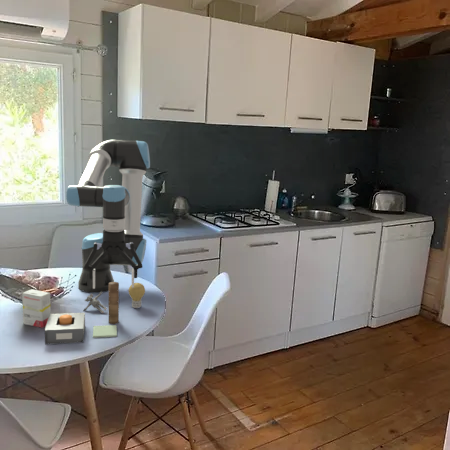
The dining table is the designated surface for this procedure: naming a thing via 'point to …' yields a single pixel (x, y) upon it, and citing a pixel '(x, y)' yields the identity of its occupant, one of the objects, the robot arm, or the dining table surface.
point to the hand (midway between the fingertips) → (113, 286)
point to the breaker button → (65, 319)
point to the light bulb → (136, 294)
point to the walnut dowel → (113, 302)
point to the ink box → (36, 308)
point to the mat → (105, 331)
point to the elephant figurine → (95, 302)
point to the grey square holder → (65, 329)
